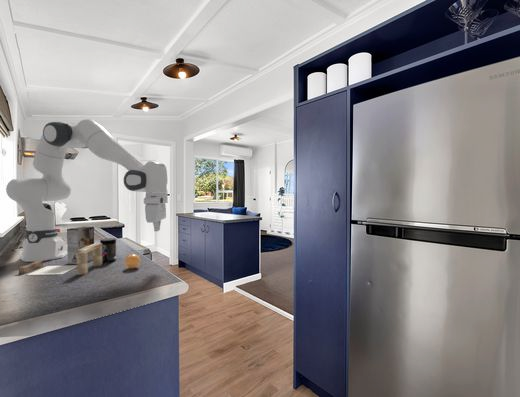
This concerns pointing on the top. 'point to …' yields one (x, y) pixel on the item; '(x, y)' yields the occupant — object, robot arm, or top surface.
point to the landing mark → (53, 270)
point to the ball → (132, 261)
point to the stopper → (30, 267)
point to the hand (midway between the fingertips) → (157, 231)
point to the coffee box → (79, 242)
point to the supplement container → (108, 249)
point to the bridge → (83, 257)
